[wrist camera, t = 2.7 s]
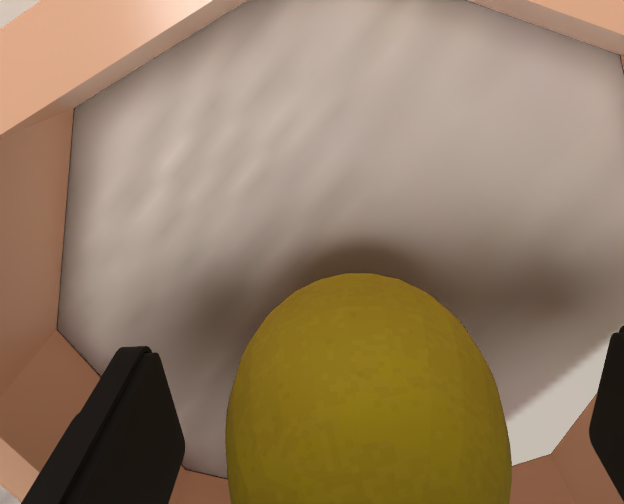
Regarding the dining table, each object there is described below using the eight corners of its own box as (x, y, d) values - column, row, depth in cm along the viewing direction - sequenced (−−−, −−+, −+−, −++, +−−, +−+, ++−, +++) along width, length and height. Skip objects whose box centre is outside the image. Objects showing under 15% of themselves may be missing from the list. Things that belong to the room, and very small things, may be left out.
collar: (501, 563, 19) (535, 674, 16) (10, 454, 17) (-62, 557, 14) (891, 83, 11) (1121, 118, 8) (31, -237, 9) (-134, -370, 6)
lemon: (426, 191, 12) (565, 461, 5) (470, 360, 14) (608, 707, 7) (222, 254, 13) (98, 555, 6) (294, 402, 15) (265, 747, 8)
